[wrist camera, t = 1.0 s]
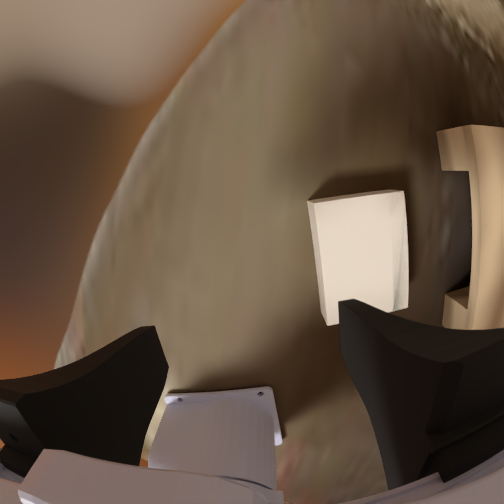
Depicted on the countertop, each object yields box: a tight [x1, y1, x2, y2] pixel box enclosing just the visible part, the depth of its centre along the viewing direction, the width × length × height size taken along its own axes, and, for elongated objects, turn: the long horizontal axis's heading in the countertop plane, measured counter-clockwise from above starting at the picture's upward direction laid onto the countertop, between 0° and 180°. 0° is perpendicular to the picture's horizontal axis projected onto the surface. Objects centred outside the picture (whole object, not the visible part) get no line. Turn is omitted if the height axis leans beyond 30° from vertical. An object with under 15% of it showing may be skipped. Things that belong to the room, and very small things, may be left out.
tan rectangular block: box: [436, 125, 504, 330], centre depth 17 cm, size 8×16×4 cm, turn 10°
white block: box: [307, 189, 409, 326], centre depth 18 cm, size 6×8×2 cm
